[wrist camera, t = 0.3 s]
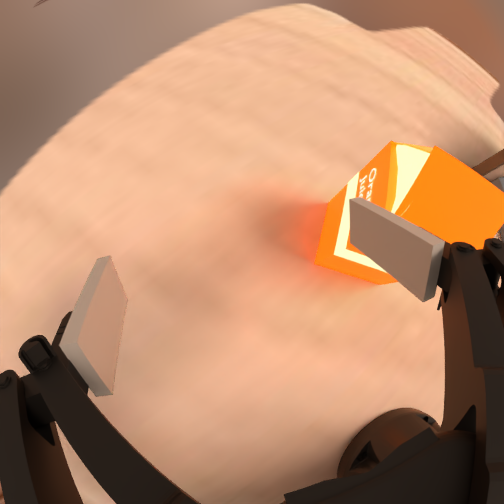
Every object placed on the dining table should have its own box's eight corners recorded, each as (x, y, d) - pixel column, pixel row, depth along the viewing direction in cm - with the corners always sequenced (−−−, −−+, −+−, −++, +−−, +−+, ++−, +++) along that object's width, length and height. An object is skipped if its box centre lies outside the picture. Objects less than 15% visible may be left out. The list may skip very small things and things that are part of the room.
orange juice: (327, 201, 33) (429, 98, 14) (390, 225, 34) (511, 160, 14) (313, 265, 32) (433, 207, 12) (380, 286, 32) (520, 259, 12)
